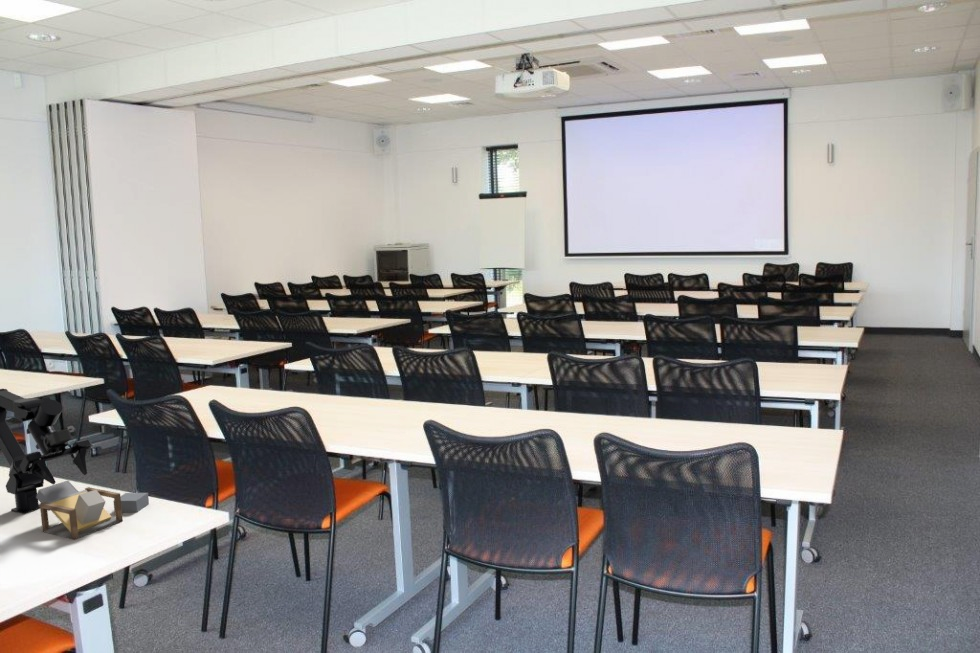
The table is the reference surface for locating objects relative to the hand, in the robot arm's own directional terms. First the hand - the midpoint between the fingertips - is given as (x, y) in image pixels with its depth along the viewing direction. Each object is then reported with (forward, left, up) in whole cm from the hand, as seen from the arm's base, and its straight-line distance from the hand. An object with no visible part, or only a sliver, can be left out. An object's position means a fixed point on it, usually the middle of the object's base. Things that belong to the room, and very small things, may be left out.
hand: (70, 478), depth 233 cm
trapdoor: (-1, 0, -10) cm, 10 cm away
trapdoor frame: (+4, -1, -13) cm, 14 cm away
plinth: (+4, +15, -13) cm, 21 cm away
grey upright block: (+6, -1, -10) cm, 12 cm away
